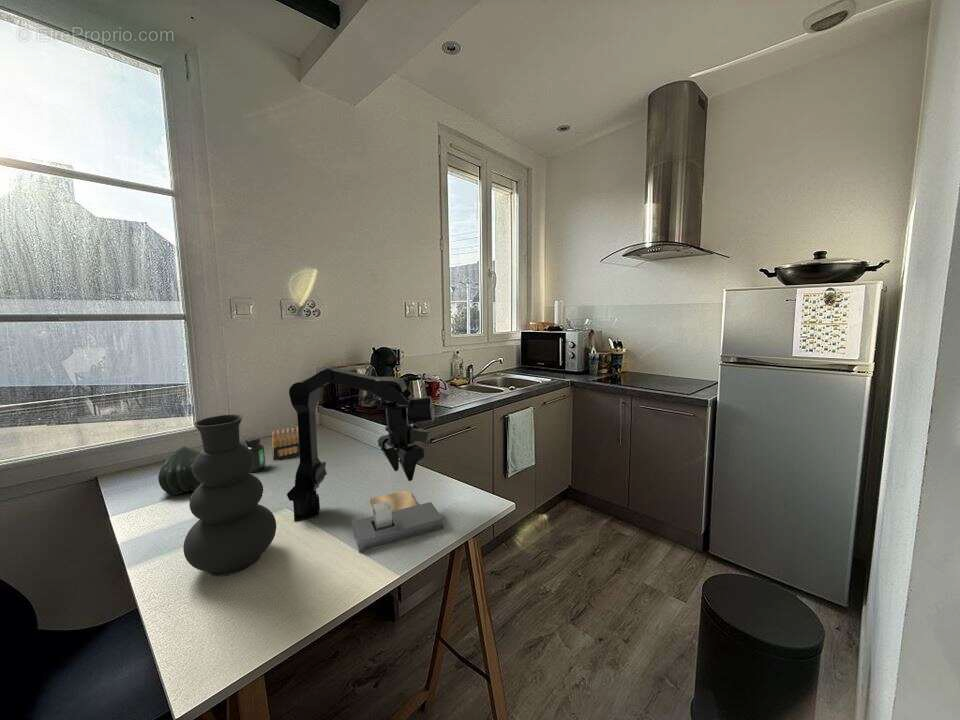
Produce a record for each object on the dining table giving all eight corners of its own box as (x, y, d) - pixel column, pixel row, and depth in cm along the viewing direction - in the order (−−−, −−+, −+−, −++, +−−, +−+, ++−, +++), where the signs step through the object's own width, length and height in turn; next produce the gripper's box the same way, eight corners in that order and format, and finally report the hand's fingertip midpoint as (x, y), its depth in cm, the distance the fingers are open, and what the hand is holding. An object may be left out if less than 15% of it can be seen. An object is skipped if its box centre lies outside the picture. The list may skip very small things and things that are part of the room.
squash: (187, 487, 120) (204, 441, 128) (139, 489, 120) (159, 443, 128) (215, 498, 132) (228, 456, 140) (171, 501, 132) (187, 458, 140)
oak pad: (378, 521, 109) (377, 517, 108) (370, 502, 119) (370, 498, 119) (419, 510, 114) (419, 506, 114) (408, 493, 125) (408, 489, 124)
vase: (291, 559, 93) (278, 417, 88) (199, 603, 79) (177, 439, 74) (262, 530, 105) (249, 405, 100) (178, 565, 92) (159, 421, 87)
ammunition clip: (273, 460, 154) (270, 431, 152) (273, 459, 155) (270, 430, 154) (302, 454, 160) (300, 426, 158) (302, 453, 161) (299, 425, 160)
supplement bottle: (268, 469, 146) (265, 438, 144) (247, 474, 141) (244, 443, 139) (262, 464, 151) (259, 434, 149) (242, 469, 146) (239, 438, 144)
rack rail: (359, 552, 95) (358, 541, 95) (353, 531, 104) (352, 521, 103) (443, 528, 104) (443, 518, 104) (431, 511, 113) (430, 501, 113)
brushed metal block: (377, 540, 100) (375, 511, 99) (374, 532, 103) (372, 504, 102) (392, 536, 101) (391, 507, 100) (389, 528, 105) (387, 500, 104)
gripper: (439, 422, 105) (444, 476, 108) (409, 410, 120) (413, 458, 123) (401, 432, 99) (407, 490, 101) (374, 419, 114) (380, 469, 116)
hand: (403, 475), depth 110 cm, fingers open, 9 cm apart
